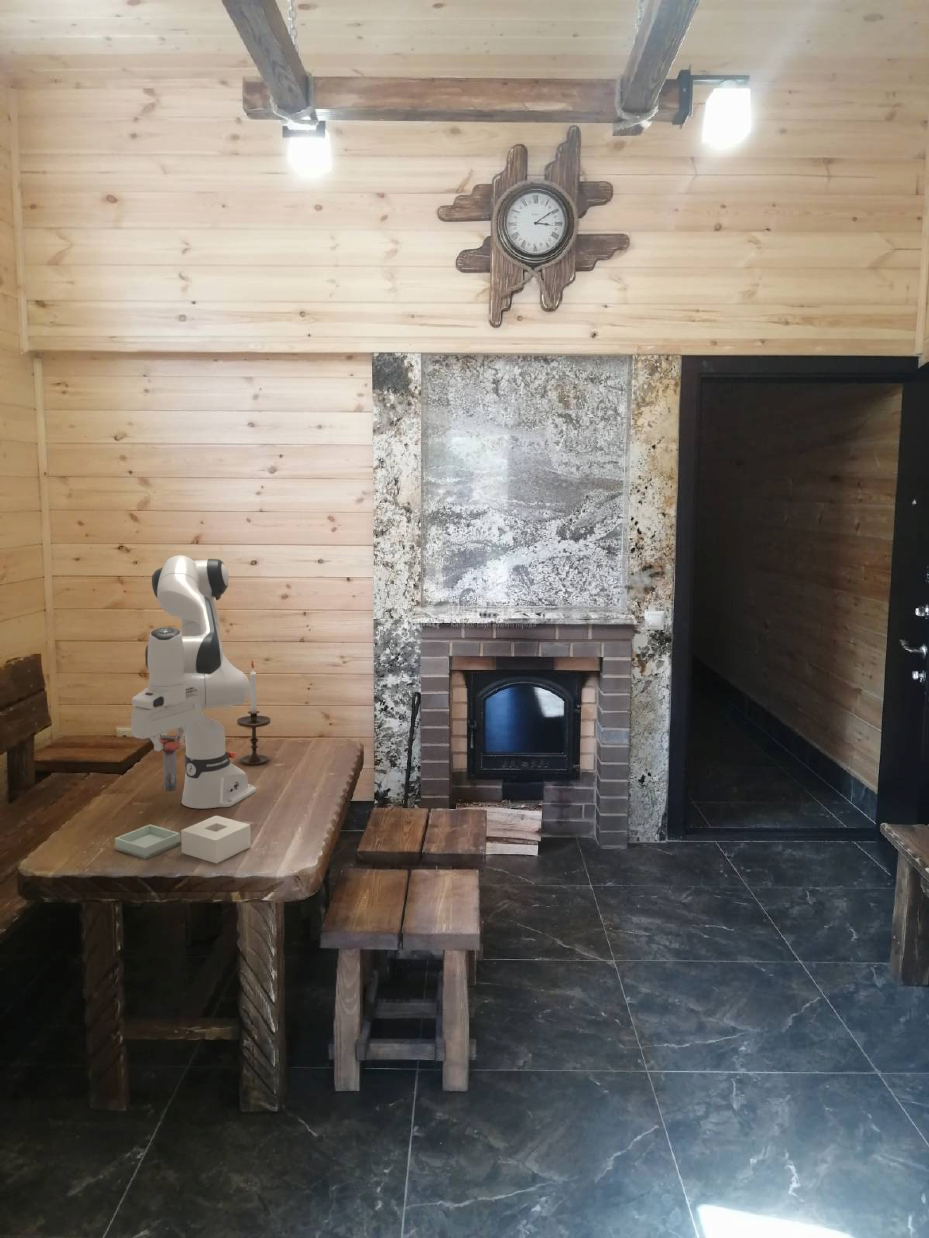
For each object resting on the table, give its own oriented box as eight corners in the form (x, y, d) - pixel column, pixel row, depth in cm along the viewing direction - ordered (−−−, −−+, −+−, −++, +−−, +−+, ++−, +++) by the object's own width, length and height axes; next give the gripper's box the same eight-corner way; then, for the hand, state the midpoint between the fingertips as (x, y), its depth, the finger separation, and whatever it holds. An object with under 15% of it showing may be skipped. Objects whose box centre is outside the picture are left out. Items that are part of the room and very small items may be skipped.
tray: (150, 834, 236) (150, 824, 235) (180, 844, 230) (180, 833, 230) (115, 849, 226) (114, 838, 226) (145, 859, 221) (145, 847, 220)
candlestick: (260, 768, 292) (259, 663, 286) (231, 764, 295) (229, 661, 289) (276, 758, 302) (275, 657, 297) (248, 755, 305) (246, 655, 300)
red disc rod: (185, 787, 227) (184, 735, 224) (170, 794, 222) (168, 741, 220) (170, 784, 229) (169, 732, 227) (155, 790, 224) (153, 737, 222)
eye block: (216, 836, 235) (216, 815, 234) (250, 846, 229) (250, 824, 228) (181, 852, 225) (181, 830, 224) (216, 863, 219) (215, 840, 218)
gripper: (189, 683, 232) (190, 734, 234) (126, 700, 214) (128, 755, 216) (207, 687, 229) (208, 738, 231) (144, 704, 211) (146, 759, 214)
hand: (169, 746), depth 224 cm, fingers closed on red disc rod, 5 cm apart
